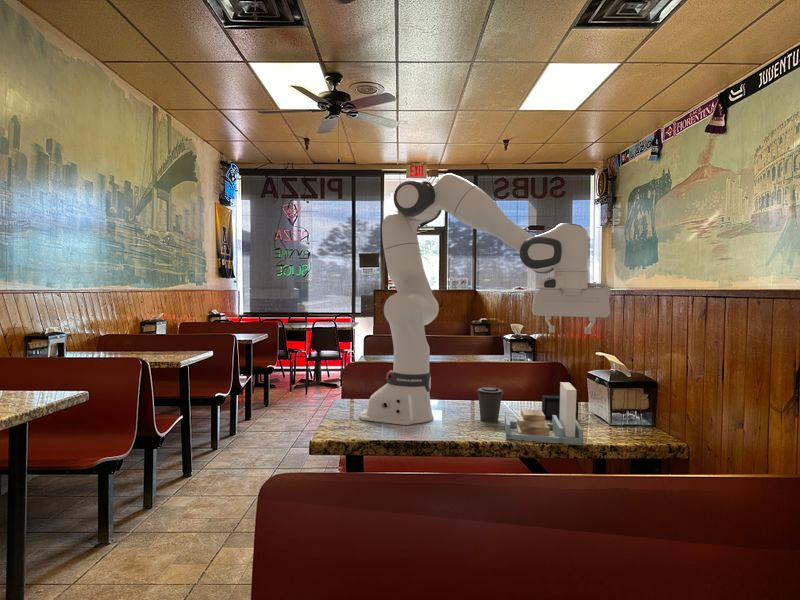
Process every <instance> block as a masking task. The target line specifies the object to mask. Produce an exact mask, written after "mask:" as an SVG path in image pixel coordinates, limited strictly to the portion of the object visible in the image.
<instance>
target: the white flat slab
mask: <svg viewBox="0 0 800 600" xmlns="http://www.w3.org/2000/svg"><path fill="white" fill-rule="evenodd" d="M559 385H560V386H559V396H560V414H559V422H560V423H561V425H562V427H563V437H570V438H575V423H576V398H577V389H576V388H575V387H574V385H572V383H570V382H568V381H567V382H566V381H565V382H564V381H563V382H562V381H560V382H559Z"/></svg>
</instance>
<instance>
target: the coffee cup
mask: <svg viewBox="0 0 800 600" xmlns="http://www.w3.org/2000/svg"><path fill="white" fill-rule="evenodd" d="M476 392H477V395H478V405H479V406H478V407H479V416H480V421H482V422H484V423H496V422H499V415H500V409H501V403H502V396H503V395H502V394H504V391H503V390H502V389H500V388H497V387H493V386H484V387H483V386H482V387H479V388H477V390H476Z"/></svg>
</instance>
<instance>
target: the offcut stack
mask: <svg viewBox="0 0 800 600" xmlns="http://www.w3.org/2000/svg"><path fill="white" fill-rule="evenodd" d="M520 411H521V412H520V416H519V418H517V420H516V421H517V424H516V427H515V428H516V434H527V435H541V436H550V429H549V427H548V425H547V424H546V423H547V422H546V420H545V415H544V413H543V412H542V409H525V408H523V409H520Z"/></svg>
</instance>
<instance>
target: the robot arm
mask: <svg viewBox="0 0 800 600" xmlns="http://www.w3.org/2000/svg"><path fill="white" fill-rule="evenodd" d="M394 190H395V191H394V193H393V203H394V206H395V208H396V209H397V211H395V212H392V213H390V214H388V215H386V216H385V217H384V218H383V220H382V222H381V237H382V246H383V247H382V248H383V252H384V258H385V259H384V260H385V264H386V269H387V275H388V277H389V279H390V280H391V282H392V283H393V285H394V287H395V289H396V292H395V293H394V294H392V295H390V296H389V297H388V298H387V299H386V301H385V303H384V305H383V314H384V317H385V319H386V321H387V322H388V323H389V327H390V333H391V338H392V345H393V370H391V369H390V370H389V371H388V372H387V373H386V383H385V384H384V385H383V386H381V387H380V388H379V389H377V390H376V391H375V392H374V393H372V394H371V396H370V397H369V400H368V403H367V408H365V409H363V410H361V412H360V413H359V419H360V420H363V421H369V422H376V423H377V422H378V423H387V424H394V425H402V426H403V425H404V426H410V425H413V424H421V423H427V422H430V421H433V420H434V415H433V411H432V404H431V397H430V395H431V393H430V391H431V386H432V381H431V380H432V377H431V372H430V353H431V352H430V351H431V349H430V345H429V343H428V339H427V337H426V331H425V330H426V329H425V326H428V325H429V324H430V323H432V322H433V321H434V320H436V318H437V317H438V315H439V309H440V306H439V302H438V300H437V299H436V298H435V296H434V293H433V291H432V288H431V285H430V283H429V280H428V278H427V274H426V271H425V269H424V264H423V259H422V255H421V254H422V253H421V249H420V245H419V244H420V243H419V238H418V228H419V229H421V228H423V227H425V226H427V225H428V224H429V223H432V222H434V221H436V219H438V218H439V216H440V215H441V213H442V211H444V212H446V213H448V214H449V215H451V216H452V217H453V218H455V219H456V220H458V221H459V222H461V223H462V224H464V225H466V226H468V227H470V228H472V229H474V230H477V231H480V232H483V233H486V234H489V235H491V236H492V237H495V238H497V239H499V240H501V241H502V242H503V243H505V244H506V245H508V246H509V247H510V248H511V249H513V250H514V251H516V252H517V253H519V259H520V261H521V263H522V264H523V265H524V266H525V267H526V268H529V269H530V270H532V271H533V272H535V273H537V274H541V275H542V274H543V275H544V274H549V273H551V272H553V271H554V272H553V277H552V276H551V277H547V278H544V279H542V280H539V281H537V288H538V290H536V291H535V293H534V295H533V300H532V305H531V307H532V308H531V313H532V314H533V315H534V316H542V317H544V321H545V322H546V324H547V326H548V333H552V334H554V333H556V326H555V325H552V323H551V320H552V317H578V318H579V317H583V318H588V321H589V324H588V325H587V326H584V331H583V332H584V333H583V334H585V335H586V334H587V335H591V334H592V328H593V326H594V324H595V323H596V320H597V318H609V315H610V314H611V307H610V298H611V295H612V294H611V293H612V290H611V287H610V286H609V285H607V284H606V283H603V282H602V283H601V282H600V283H595V282H589V268H588V259H589V254H590V253H589V252H590V251H589V250H590V249H589V248H590V247H589V243H590V242H589V235H588V231H587V229H586V228H584V227H583V226H582V225H580V224H576V223H572V222H563V223H559V224H557V225H556V226H555V227H554V228H552V229H550V230H548V231H546V232H543V233H540V234H538V235H534V236H533V235H532V234H530V233H529V232H527V231H526V230H524V229H523V228H522V227H520V226H519V225H517V224H516V223H515V222H513V221H512V220H511V219H510V218H509V217H508V216H507V215H506V214H505V213H504V212H503V210H502V209H501V208H500V207H499V205H498V204H497V203H496V202H495V201H494V200H493V198H491V196H489V194H487V193H486V192H485V191H484V190H483V189H482V188H480V187H479V186H477V185H476V184H474V183H472V182H471V181H469V180H467V179H466V178H463V177H461V176H459V175H456V174H454V173H451V172H450V173H445V174H442V175H441V176H440V177H439V178H438V179H437V180H436V182H435V183H434V184H433V183H431V182H430V181H428V180H405V181H404V182H401V183H399V184H398V186H397V187H396V189H394Z"/></svg>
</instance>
